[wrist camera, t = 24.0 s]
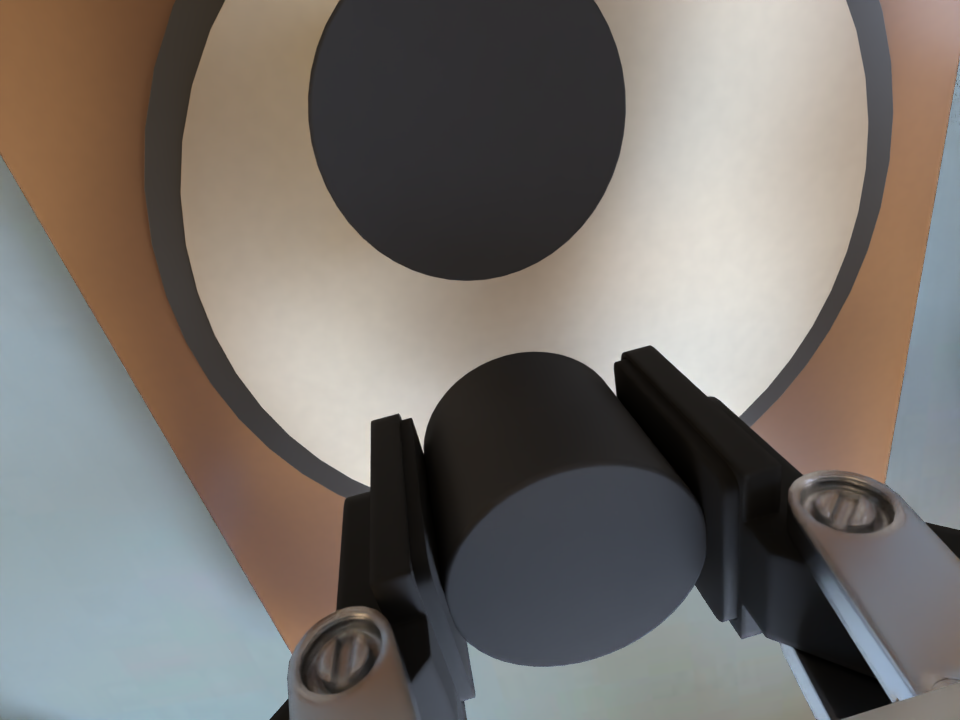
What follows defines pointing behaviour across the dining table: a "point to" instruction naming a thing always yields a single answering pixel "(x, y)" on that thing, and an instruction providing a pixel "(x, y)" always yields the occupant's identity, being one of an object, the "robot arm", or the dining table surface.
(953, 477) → the dining table surface
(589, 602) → the dot
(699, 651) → the dining table surface
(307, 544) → the board
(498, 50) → the dot
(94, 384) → the dining table surface
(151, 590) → the dining table surface
